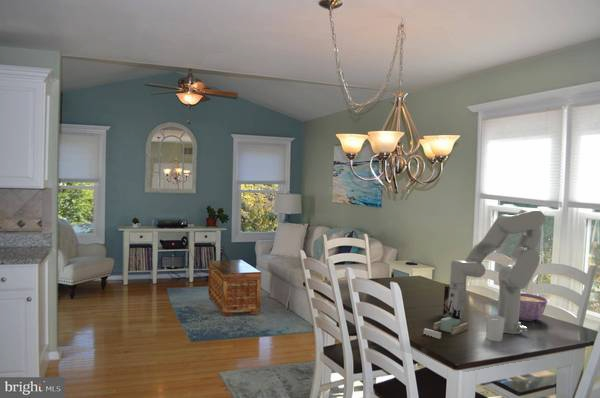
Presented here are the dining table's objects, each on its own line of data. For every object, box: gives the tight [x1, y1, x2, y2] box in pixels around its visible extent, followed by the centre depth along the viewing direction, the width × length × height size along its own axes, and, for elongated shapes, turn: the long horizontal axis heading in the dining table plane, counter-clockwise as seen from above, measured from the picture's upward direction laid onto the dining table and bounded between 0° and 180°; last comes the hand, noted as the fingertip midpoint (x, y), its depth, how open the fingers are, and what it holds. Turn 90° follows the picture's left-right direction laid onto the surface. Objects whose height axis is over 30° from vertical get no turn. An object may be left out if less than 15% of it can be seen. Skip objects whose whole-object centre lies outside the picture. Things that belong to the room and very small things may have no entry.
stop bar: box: [423, 327, 442, 339], centre depth 228 cm, size 8×2×2 cm, turn 44°
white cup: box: [485, 314, 505, 342], centre depth 227 cm, size 8×8×10 cm
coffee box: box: [442, 284, 464, 320], centre depth 263 cm, size 9×6×16 cm
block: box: [439, 317, 461, 334], centre depth 239 cm, size 6×7×5 cm
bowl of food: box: [519, 292, 548, 322], centre depth 264 cm, size 20×20×12 cm
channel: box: [432, 320, 469, 336], centre depth 240 cm, size 10×14×3 cm
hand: (455, 323), depth 243 cm, fingers closed
